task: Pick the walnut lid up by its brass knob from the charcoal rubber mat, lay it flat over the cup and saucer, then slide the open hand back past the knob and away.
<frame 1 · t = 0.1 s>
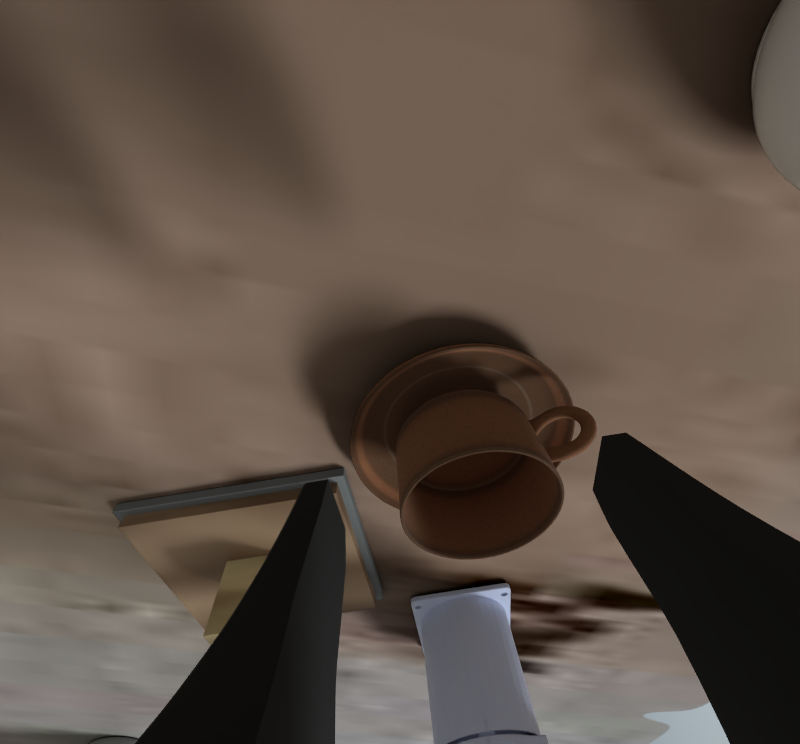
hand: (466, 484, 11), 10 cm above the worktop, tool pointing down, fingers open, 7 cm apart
mat: (267, 553, 28), on the worktop
cup and saucer: (455, 420, 23), on the worktop
lid: (265, 561, 27), point 1 cm above the worktop, touching mat
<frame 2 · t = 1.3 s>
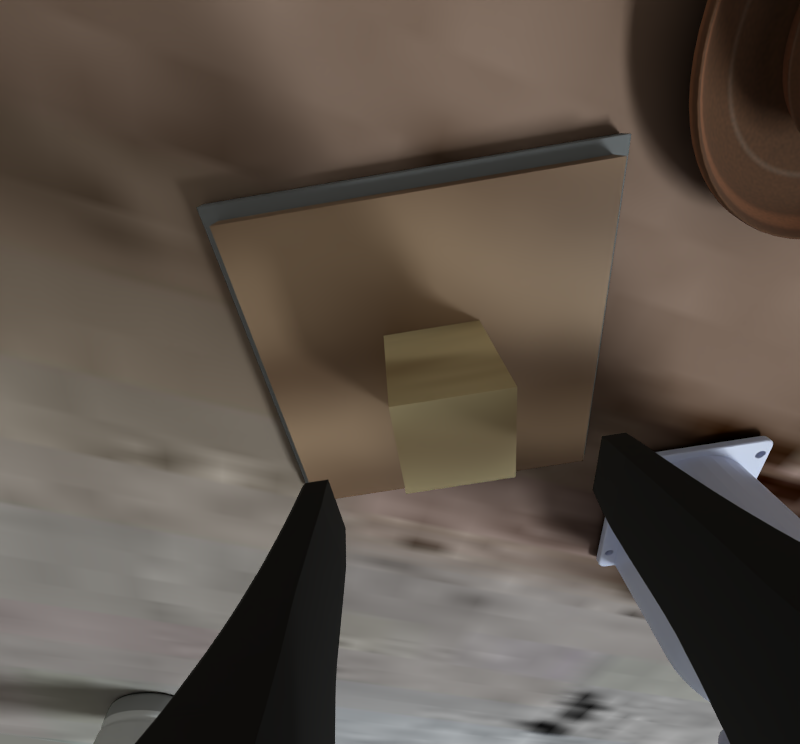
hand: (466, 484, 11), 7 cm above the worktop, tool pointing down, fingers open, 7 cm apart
mat: (431, 351, 17), on the worktop
travel mug: (152, 705, 34), on the worktop
lid: (433, 358, 16), point 1 cm above the worktop, touching mat
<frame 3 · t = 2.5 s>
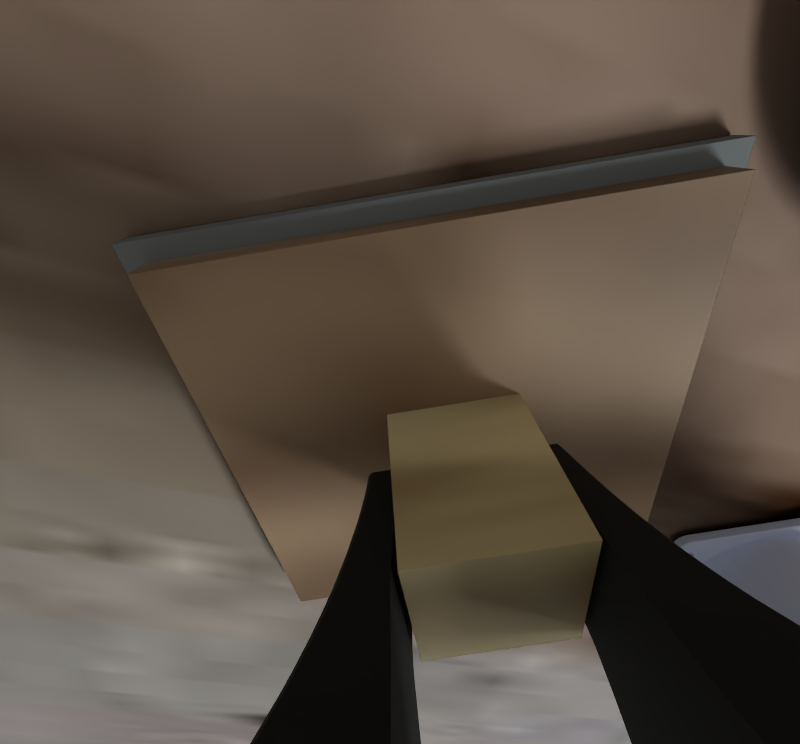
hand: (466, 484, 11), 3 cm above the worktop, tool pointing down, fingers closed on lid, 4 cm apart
mat: (449, 422, 13), on the worktop
lid: (452, 434, 12), point 1 cm above the worktop, touching gripper, mat
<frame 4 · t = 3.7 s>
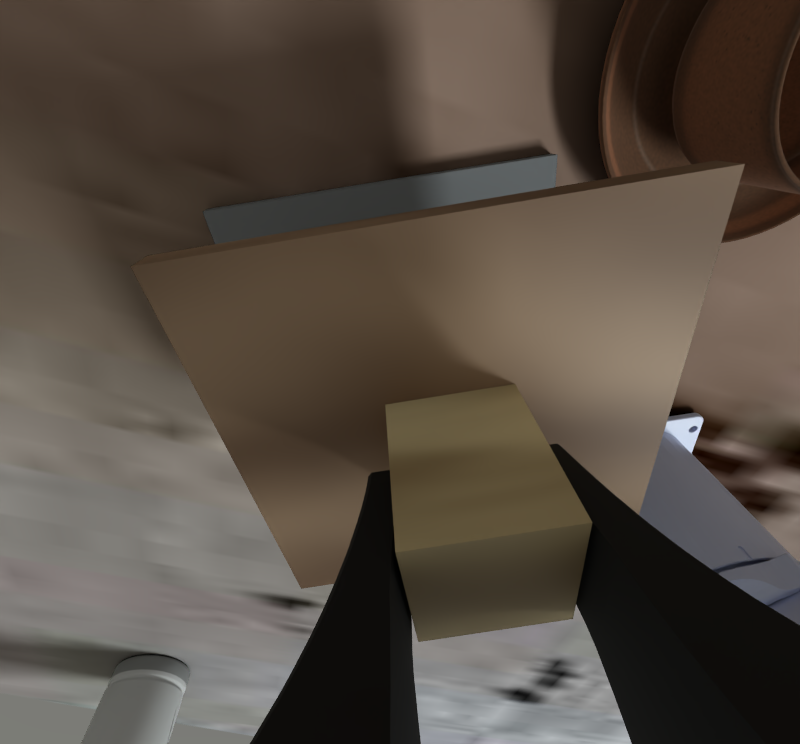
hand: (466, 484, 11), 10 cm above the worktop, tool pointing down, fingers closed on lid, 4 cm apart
mat: (401, 335, 20), on the worktop
travel mug: (154, 667, 36), on the worktop
cup and saucer: (731, 70, 15), on the worktop
lid: (449, 424, 12), point 8 cm above the worktop, touching gripper
when the fingers open (9 cm above the worktop, at t = 5.3 s): lid stays where it is, resting on cup and saucer.
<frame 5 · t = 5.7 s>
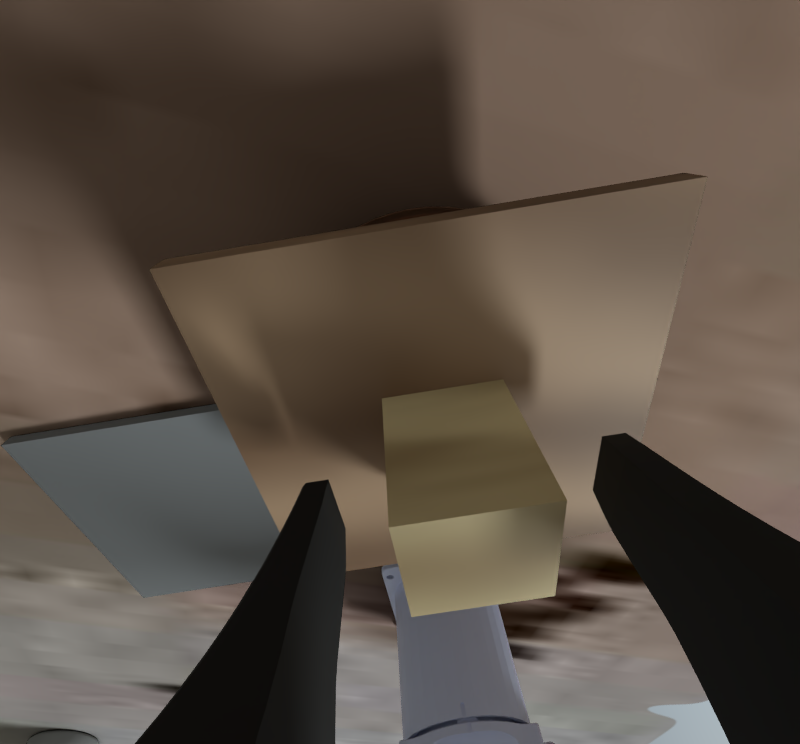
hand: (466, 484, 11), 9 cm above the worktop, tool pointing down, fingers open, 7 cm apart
mat: (206, 506, 23), on the worktop
travel mug: (66, 738, 40), on the worktop
cup and saucer: (422, 334, 19), on the worktop, touching lid
lid: (443, 418, 13), point 6 cm above the worktop, touching cup and saucer
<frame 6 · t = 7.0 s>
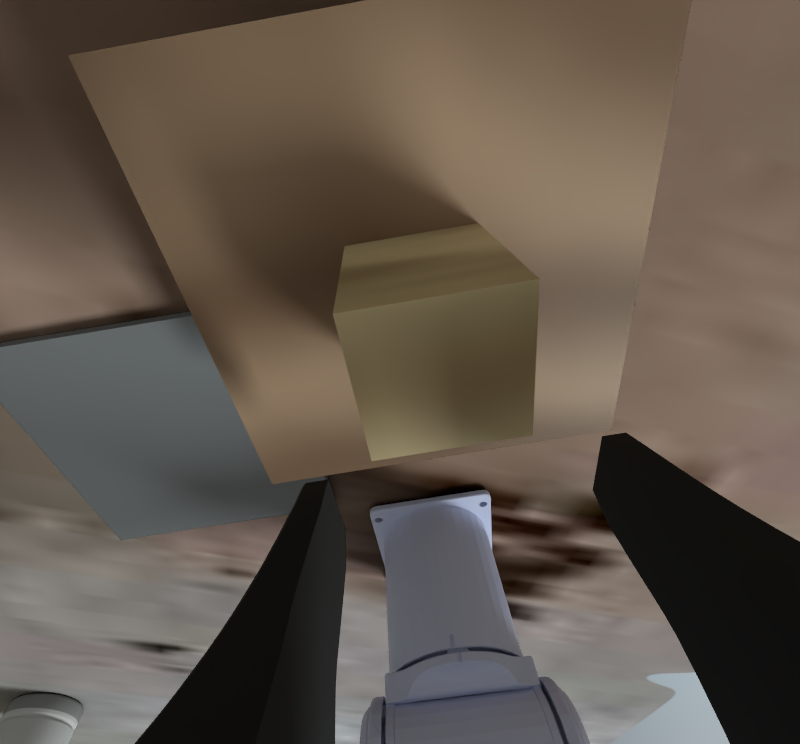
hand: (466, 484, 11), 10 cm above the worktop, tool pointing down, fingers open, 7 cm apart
mat: (182, 436, 22), on the worktop
travel mug: (49, 703, 39), on the worktop
lid: (416, 287, 12), point 6 cm above the worktop, touching cup and saucer
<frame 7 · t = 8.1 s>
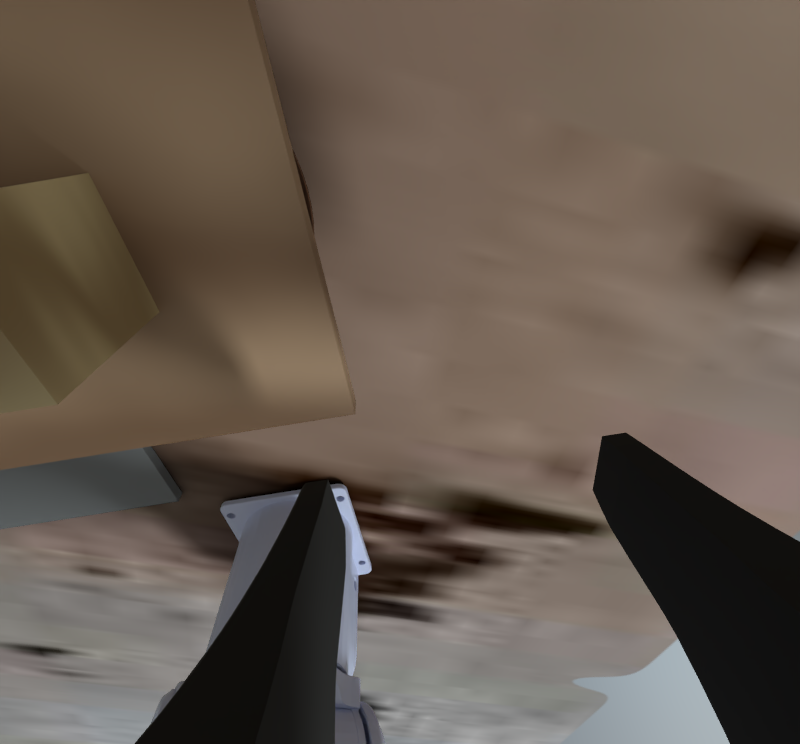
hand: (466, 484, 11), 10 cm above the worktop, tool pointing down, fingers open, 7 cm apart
cup and saucer: (172, 209, 16), on the worktop, touching lid
lid: (79, 251, 11), point 6 cm above the worktop, touching cup and saucer
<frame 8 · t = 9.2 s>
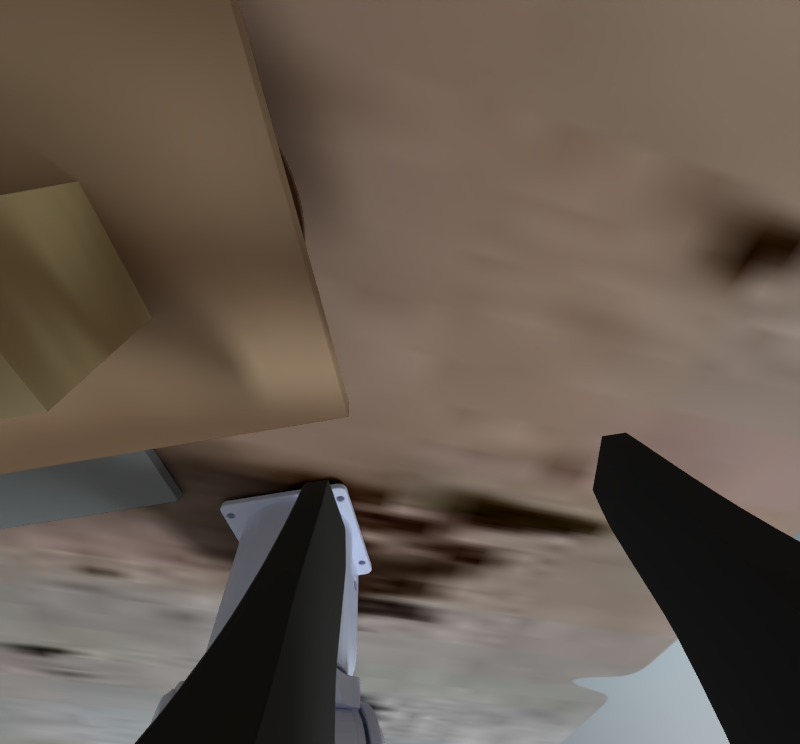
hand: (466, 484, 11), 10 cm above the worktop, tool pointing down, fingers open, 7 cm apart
cup and saucer: (164, 213, 16), on the worktop, touching lid
lid: (71, 258, 11), point 6 cm above the worktop, touching cup and saucer
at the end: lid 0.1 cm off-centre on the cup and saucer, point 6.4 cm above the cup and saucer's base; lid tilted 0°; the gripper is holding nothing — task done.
